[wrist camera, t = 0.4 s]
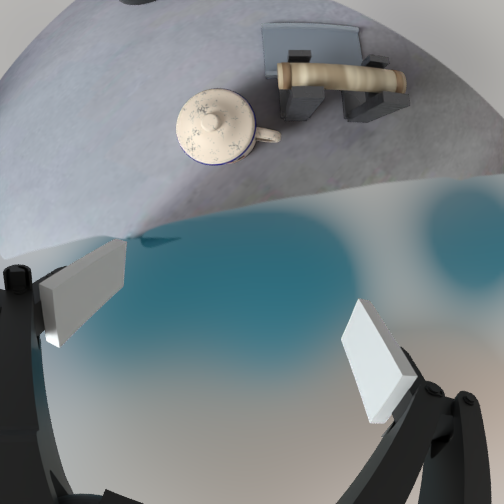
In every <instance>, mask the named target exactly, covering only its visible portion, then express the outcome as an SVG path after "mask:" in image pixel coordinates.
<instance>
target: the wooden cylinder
mask: <svg viewBox="0 0 504 504" xmlns="http://www.w3.org/2000/svg"><path fill="white" fill-rule="evenodd" d="M277 76H278V87H279V89H283V90H284V89H291V87H292V86H324V89H329V90H348V91H362V92H372V93H380V92H382V91H388V92H395V93H402V94H404V93H405V91H406V78H405V75H404V74H403V72H400V71H397V70H387V69H380V68H373V67H364V66H354V65H342V64H326V63H289V62H281V63H277Z"/></svg>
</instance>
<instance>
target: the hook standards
mask: <svg viewBox="0 0 504 504" xmlns="http://www.w3.org/2000/svg"><path fill="white" fill-rule="evenodd" d="M311 57H312V54H311V50H288V56H287V62H289V63H309V62H310V60H311ZM388 64H390V62H389V57H382V56H375V55H369V56H368V57H367V58H366V59H365V60H364V61H363V62H362V63H361V66H364V67H373V68H380V69H384V68H385V67H386V66H387V65H388ZM341 91H342V101H343V112H344V119H347V120H348V122H363V123H368V122H370V121H372V120H375V119H377V118H380V117H382V116H385V115H387V114H390V113H392V112H395V111H397V110H400V109H402V108H405V107H408V106H410V100H409V94H402V93H395V92H388V91H382V92H380V93H372V92H362V91H348V90H341ZM279 98H280V111H281V119H284V118H285V121H307V119H308V118H310V117H311V114H312V113H313V112H314V111H315V110H316V108H317V107H318V106H319V105H320V103H321V102H322V101H323V100H324V99H325V93H324V86H292V87H291V89H284V90H283V89H279Z"/></svg>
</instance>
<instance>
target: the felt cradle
mask: <svg viewBox="0 0 504 504" xmlns="http://www.w3.org/2000/svg"><path fill="white" fill-rule="evenodd" d="M261 27H262V38H263V50H264V62H265V75H266V79H272V78H278V76H277V63H281V62H287V56H288V50H311V54H312V57H311V60H310V62H309V63H326V64H342V65H354V66H361V63H362V62H363V61H362V54H361V48H360V43H359V37H358V32H359V27H352V26H342V25H331V24H315V23H264V24H261Z"/></svg>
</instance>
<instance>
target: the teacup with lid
mask: <svg viewBox="0 0 504 504" xmlns="http://www.w3.org/2000/svg"><path fill="white" fill-rule="evenodd" d="M176 133H177V138H178V142H179V144H180V146H181V148H182V149H183V151H184V152H185V153H186V154H187V155H188V156H189V157H190V158H192V159H193V160H195V161H197V162H199V163H202V164H205V165H223V164H231V163H235V162H238V161H240V160H242V159H243V158H245V157H246V156H247V155H248V154H249V153H250V152H251V150H252V149H253V147H254V145H255V142H256V141H262V142H279V141H280V140H281V133H280V132H278V131H275V130H271V129H266V128H259V127H256V118H255V114H254V111H253V109H252V107H251V105H250V104H249V103H248V101H247V100H246V99H245V98H244V97H242V96H241V95H240V94H238V93H236V92H234V91H231V90H228V89H222V88H215V89H209V90H205V91H202V92H200V93H198V94H196V95H195V96H193V97H192V98H191V99H189V100H188V101H187V102H186V104H185V105H184V106H183V108H182V109H181V111H180V113H179V116H178V119H177V125H176Z"/></svg>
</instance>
